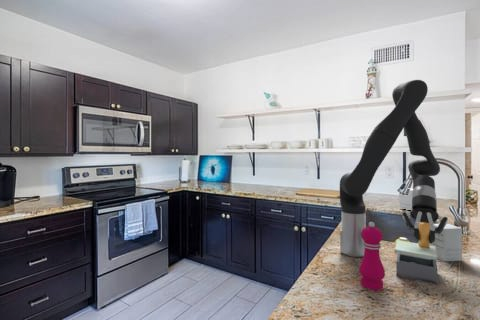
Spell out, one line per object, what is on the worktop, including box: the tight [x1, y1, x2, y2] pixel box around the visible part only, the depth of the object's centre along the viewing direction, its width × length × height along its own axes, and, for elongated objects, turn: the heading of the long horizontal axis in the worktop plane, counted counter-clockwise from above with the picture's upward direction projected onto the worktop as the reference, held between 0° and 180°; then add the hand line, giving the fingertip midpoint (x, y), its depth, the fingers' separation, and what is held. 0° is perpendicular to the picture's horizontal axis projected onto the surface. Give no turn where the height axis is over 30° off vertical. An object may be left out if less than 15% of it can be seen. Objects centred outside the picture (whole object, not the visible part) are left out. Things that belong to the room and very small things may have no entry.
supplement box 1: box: [398, 188, 413, 211], centre depth 187 cm, size 9×9×15 cm
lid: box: [394, 222, 438, 261], centre depth 89 cm, size 11×11×10 cm
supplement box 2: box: [430, 223, 463, 262], centre depth 101 cm, size 7×7×13 cm
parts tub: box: [395, 253, 438, 285], centre depth 89 cm, size 11×11×5 cm
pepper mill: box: [358, 221, 386, 291], centre depth 81 cm, size 7×7×20 cm
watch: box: [394, 236, 410, 248], centre depth 108 cm, size 6×3×6 cm, turn 62°
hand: (424, 241), depth 88 cm, fingers closed on lid, 3 cm apart
